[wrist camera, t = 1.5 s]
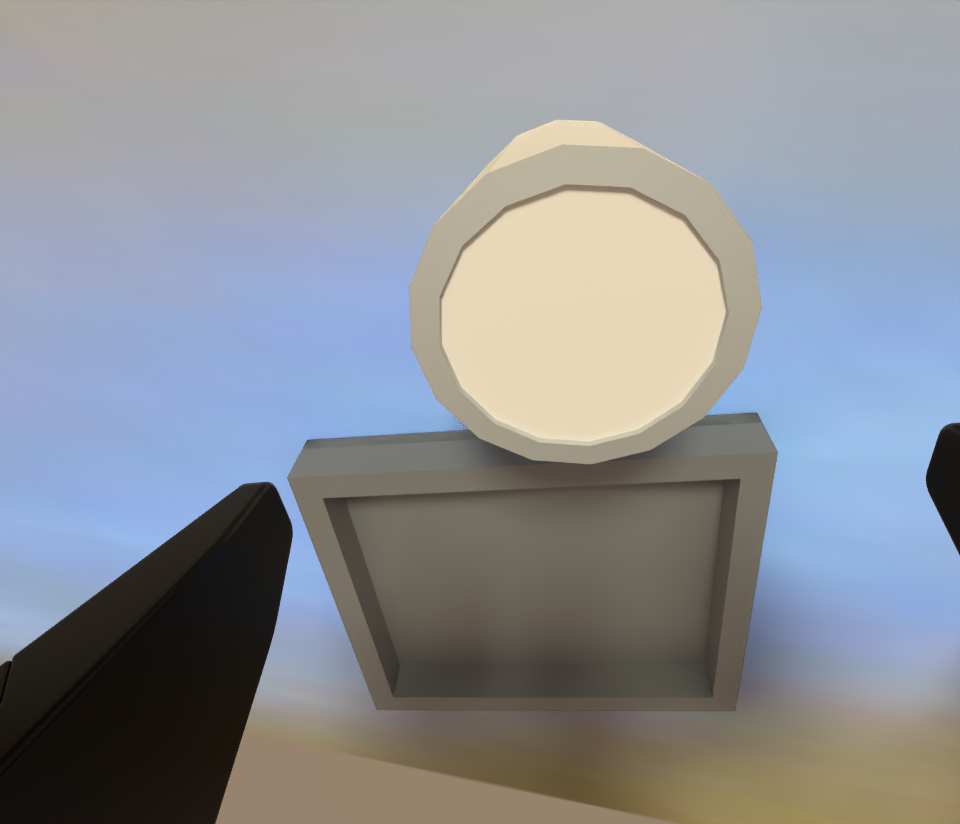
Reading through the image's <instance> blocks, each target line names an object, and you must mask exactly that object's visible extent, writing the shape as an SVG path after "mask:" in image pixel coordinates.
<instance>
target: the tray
mask: <svg viewBox="0 0 960 824" xmlns="http://www.w3.org/2000/svg"><path fill="white" fill-rule="evenodd" d="M777 454H778V451H777V450H776V448H775V446H774V444H773V442H772V440H771V438H770V436H769V434H768V433H767V431H766V429H765V427H764V425H763V423H762V421H761V419H760V417H759V416H758V414H757V413H742V414H725V415H709V416H704V418H702V419H701V420H699V421H697V422H696V423H694V424H692V425H691V426H689V427H688V428H686V429H684V430H683V431H681V432H679V433H678V434H676V435H674V436H673V437H671V438H669V439H668V440H666V441H665V442H663V443H661V444H660V445H658V446H656V447H655V448H653V449H651V450H649V451H645V452H641V453H637V454H632V455H628V456H624V457H620V458H616V459H611V460H607V461H603V462H599V463H595V464H580V463H566V462H552V461H538V460H531V459H528V458H526V457H524V456H521V455H519V454H516V453H514V452H511V451H509V450H507V449H504V448H502V447H499V446H497V445H494V444H492V443H490V442H487V441H485V440H482V439H480V438H478V437H477V436H476V435H475V434H474V433H473V432H472V431H470V430H463V431H446V432H430V433H414V434H397V435H381V436H364V437H348V438H332V439H315V440H307V441H306V443H305V445H304V447H303V449H302V451H301V453H300V454H299V456H298V458H297V460H296V462H295V464H294V466H293V468H292V469H291V471H290V473H289V475H288V477H287V479H288V481H289V484H290V486H291V489H292V491H293V494H294V497H295V499H296V502H297V504H298V507H299V510H300V512H301V515H302V517H303V520H304V523H305V525H306V528H307V530H308V533H309V536H310V538H311V541H312V543H313V546H314V548H315V551H316V554H317V556H318V559H319V561H320V564H321V567H322V569H323V572H324V574H325V577H326V580H327V582H328V585H329V587H330V590H331V593H332V595H333V598H334V600H335V603H336V606H337V608H338V611H339V613H340V616H341V618H342V621H343V624H344V626H345V629H346V631H347V634H348V637H349V639H350V642H351V644H352V647H353V650H354V652H355V655H356V657H357V660H358V663H359V665H360V668H361V670H362V673H363V675H364V678H365V681H366V683H367V686H368V688H369V691H370V694H371V696H372V699H373V701H374V704H375V707H376V709H377V710H550V711H735V710H736V704H737V697H738V691H739V685H740V679H741V673H742V667H743V661H744V655H745V649H746V643H747V637H748V630H749V624H750V618H751V612H752V606H753V600H754V594H755V588H756V582H757V576H758V569H759V563H760V557H761V551H762V545H763V539H764V533H765V527H766V521H767V515H768V508H769V502H770V496H771V490H772V484H773V478H774V472H775V466H776V460H777Z"/></svg>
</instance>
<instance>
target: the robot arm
mask: <svg viewBox="0 0 960 824" xmlns="http://www.w3.org/2000/svg"><path fill="white" fill-rule="evenodd" d="M926 484H927V489H928V492H929V494H930V496H931V498H932V500H933V502H934V504H935V506H936V508H937V510H938V512H939V514H940V516H941V518H942V520H943V522H944V524H945V526H946V528H947V530H948V532H949V534H950V536H951V538H952V540H953V542H954V545H955V547H956V549H957V551H958V553H959V555H960V423H951V424H948V425H946V426H945V427H943V429H942V430H941V431H940V433H939V436H938V439H937V442H936V445H935V448H934V451H933V454H932V457H931V460H930V464H929V467H928V470H927V474H926ZM292 536H293V531H292V524H291V521H290V519H289V516H288V514H287V512H286V509H285V507H284V505H283V502H282V500H281V498H280V495H279V493H278V491H277V489H276V487H275V486H274V485H273V484H272V483H270V482H258V483H247V484H243V485H241V486H240V487H238V488H237V489H236V490H234V491H233V492H232V493H230V494H229V495H228V496H226V497H225V498H224V499H222V500H221V501H220V502H218V503H217V504H216V505H214V506H213V507H212V508H210V509H209V510H208V511H206V512H205V513H204V514H202V515H201V516H200V517H198V518H197V519H196V520H194V521H193V522H192V523H190V524H189V525H188V526H186V527H185V528H184V529H182V530H181V531H180V532H178V533H177V534H176V535H174V536H173V537H172V538H170V539H169V540H168V541H166V542H165V543H164V544H162V545H161V546H160V547H158V548H157V549H156V550H154V551H153V552H152V553H150V554H149V555H148V556H146V557H145V558H144V559H142V560H141V561H140V562H138V563H137V564H136V565H134V566H133V567H132V568H130V569H129V570H128V571H126V572H125V573H124V574H122V575H121V576H120V577H118V578H117V579H116V580H114V581H113V582H112V583H110V584H109V585H108V586H106V587H105V588H104V589H102V590H101V591H100V592H98V593H97V594H96V595H94V596H93V597H92V598H90V599H89V600H88V601H86V602H85V603H84V604H82V605H81V606H80V607H78V608H77V609H76V610H74V611H73V612H72V613H70V614H69V615H68V616H66V617H65V618H64V619H62V620H61V621H60V622H58V623H57V624H56V625H54V626H53V627H52V628H50V629H49V630H48V631H46V632H45V633H44V634H42V635H41V636H40V637H38V638H37V639H36V640H34V641H33V642H32V643H30V644H29V645H28V646H26V647H25V648H24V649H22V650H21V651H20V652H18V653H17V654H16V655H14V657H13V659H12V661H6V662H5V663H3V664H2V665H1V666H0V824H215V823H216V820H217V816H218V813H219V810H220V806H221V803H222V800H223V797H224V794H225V790H226V787H227V784H228V781H229V777H230V774H231V771H232V768H233V764H234V761H235V758H236V755H237V752H238V748H239V745H240V742H241V739H242V735H243V732H244V729H245V726H246V723H247V719H248V716H249V713H250V710H251V706H252V703H253V700H254V697H255V693H256V690H257V687H258V684H259V681H260V677H261V674H262V671H263V668H264V664H265V661H266V658H267V655H268V651H269V648H270V645H271V641H272V637H273V634H274V630H275V625H276V621H277V616H278V611H279V606H280V600H281V595H282V590H283V585H284V580H285V574H286V569H287V564H288V559H289V553H290V548H291V543H292Z"/></svg>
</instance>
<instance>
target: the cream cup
mask: <svg viewBox="0 0 960 824" xmlns="http://www.w3.org/2000/svg"><path fill="white" fill-rule="evenodd" d="M409 297H410V323H411V348H412V350H413V352H414V354H415V356H416V358H417V360H418V362H419V364H420V366H421V369H422V371H423V373H424V375H425V377H426V379H427V381H428V383H429V385H430V387H431V389H432V391H433V393H434V395H435V397H436V399H437V401H438V402H440V403H441V404H442V405H443V406H444V407H445V408H446V409H447V410H448V411H450V412H451V413H452V414H453V415H454V416H455V417H456V418H457V419H458V420H459V421H461V422H462V423H463V424H464V425H465V426H466V427H467V428H468V429H469V430H470V431H472V432H473V433H474V434H475V435H476V436H477V437H478V438H480V439H482V440H485V441H487V442H490V443H492V444H494V445H497V446H499V447H502V448H504V449H507V450H509V451H511V452H514V453H516V454H519V455H521V456H524V457H526V458H528V459H531V460H538V461H552V462H566V463H580V464H595V463H599V462H603V461H607V460H611V459H616V458H620V457H624V456H628V455H632V454H637V453H641V452H645V451H649V450H651V449H653V448H655V447H656V446H658V445H660V444H661V443H663V442H665V441H666V440H668V439H669V438H671V437H673V436H674V435H676V434H678V433H679V432H681V431H683V430H684V429H686V428H688V427H689V426H691V425H692V424H694V423H696V422H697V421H699V420H701V419H702V418H704V416H705V415H706V414H707V413H708V411H709V410H710V409H711V408H712V407H713V405H714V404H715V403H716V402H717V400H718V399H719V398H720V397H721V395H722V394H723V393H724V392H725V391H726V389H727V388H728V387H729V386H730V384H731V383H732V382H733V381H734V380H735V378H736V377H737V376H738V375H739V373H740V372H741V371H742V370H743V368H744V365H745V361H746V358H747V355H748V351H749V348H750V345H751V342H752V338H753V335H754V332H755V328H756V325H757V322H758V319H759V315H760V312H761V309H762V304H761V297H760V291H759V284H758V277H757V270H756V264H755V257H754V250H753V243H752V240H751V239H750V237H749V236H748V235H747V233H746V232H745V230H744V229H743V228H742V226H741V225H740V224H739V222H738V221H737V219H736V218H735V217H734V215H733V214H732V212H731V211H730V210H729V208H728V207H727V205H726V204H725V203H724V201H723V200H722V198H721V197H720V196H719V194H718V193H717V192H716V190H715V189H714V187H713V186H712V185H711V183H709V182H707V181H705V180H704V179H702V178H700V177H698V176H697V175H695V174H693V173H691V172H689V171H688V170H686V169H684V168H682V167H681V166H679V165H677V164H675V163H674V162H672V161H670V160H668V159H666V158H665V157H663V156H661V155H659V154H658V153H656V152H654V151H652V150H651V149H649V148H647V147H645V146H643V145H642V144H640V143H638V142H636V141H635V140H633V139H631V138H629V137H627V136H625V135H623V134H621V133H619V132H617V131H615V130H614V129H612V128H610V127H608V126H606V125H604V124H602V123H600V122H596V121H573V120H555V121H553V122H550V123H547V124H545V125H542V126H540V127H537V128H535V129H532V130H530V131H527V132H525V133H522V134H519V135H517V136H516V137H515V138H514V139H513V140H512V141H511V142H510V143H509V144H508V145H507V146H506V147H505V148H504V149H503V150H502V151H501V152H500V153H499V154H498V155H497V156H496V157H495V158H494V159H493V160H492V161H491V162H490V163H489V164H488V165H487V166H486V167H485V168H484V169H483V170H482V172H481V173H480V174H479V175H478V176H477V177H476V178H475V179H474V181H473V182H472V183H471V184H470V185H469V186H468V187H467V188H466V190H465V191H464V192H463V193H462V194H461V195H460V196H459V197H458V199H457V200H456V201H455V202H454V203H453V204H452V205H451V206H450V207H449V209H448V210H447V211H446V212H445V213H444V214H443V215H442V216H441V218H440V219H439V220H438V221H437V222H436V223H435V224H434V227H433V229H432V232H431V234H430V236H429V239H428V241H427V244H426V246H425V249H424V251H423V254H422V256H421V259H420V261H419V264H418V266H417V268H416V271H415V273H414V276H413V278H412V281H411V283H410V286H409Z"/></svg>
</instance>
